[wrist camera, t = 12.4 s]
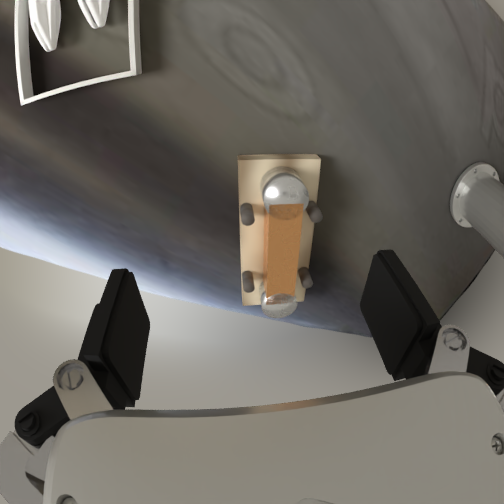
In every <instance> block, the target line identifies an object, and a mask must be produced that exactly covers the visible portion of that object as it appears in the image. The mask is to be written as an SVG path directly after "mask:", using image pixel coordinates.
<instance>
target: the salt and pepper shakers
mask: <svg viewBox="0 0 504 504" xmlns="http://www.w3.org/2000/svg"><path fill="white" fill-rule="evenodd" d="M109 2H110V0H78V3H79V5H80V8H81V10H82V12H83V14H84V16H85V17H86V19H87V21H88V22H89V24H90V25H91V27H93V28H95V29H96V28H98V27H103V26H104V25H105V23H106V18H107V13H108V8H109ZM28 3H29V13H30V20H31V26H32V29H33V31H34V33H35V35H36V37H37V39H38V40H39V42H40V44H41V45H42V47H43V48H44V50H45V51H47V52H50V51H52V50H55V49H56V47H57V41H58V35H59V29H60V22H61V6H60V0H28Z"/></svg>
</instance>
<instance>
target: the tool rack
mask: <svg viewBox="0 0 504 504" xmlns="http://www.w3.org/2000/svg"><path fill="white" fill-rule="evenodd" d="M320 164H321V159H320V158H319V157H318V155H317V154H259V155H238V182H239V218H240V250H241V280H242V301H243V306H246V305H260V304H261V299H260V293H259V286H260V284H261V282H262V281H263V260H264V202H263V199H262V195H261V191H260V182H261V179H262V177H263V176H264V174H265V173H266V172H267V171H269V170H270V169H272V168H275V167H280V166H284V167H289V168H291V169H293V170H294V171H296V172H297V174H298V175H299V177H300V178H301V180H302V182H303V183H304V185H305V187H306V188H307V190H308V193H309V203H308V206H307V208H306V209H305V211H304V212H303V217H302V228H301V239H300V249H299V258H298V268H297V277H296V286H295V296H296V300H297V302H298V301H304V295H305V289H306V288H310V287H311V286H312V285H313V282H312V279H311V276H310V273H309V271H308V268H309V261H310V253H311V246H312V238H313V230H314V223H318V222H320V221H321V220H322V218H323V215H322V213H321V211H320V210H319V208H318V206H317V194H318V185H319V174H320Z"/></svg>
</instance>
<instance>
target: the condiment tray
mask: <svg viewBox="0 0 504 504" xmlns="http://www.w3.org/2000/svg"><path fill="white" fill-rule="evenodd" d="M28 10H29V3H28V0H15V53H16V67H17V78H18V87H19V95H20V102H21V105H24V104H27V103H30V102H32V101H35V100H38V99H41V98H44V97H47V96H51V95H54V94H57V93H61V92H64V91H67V90H71V89H75V88H78V87H82V86H86V85H90V84H94V83H99V82H103V81H108V80H113V79H117V78H123V77H128V76H134V75H139V74H142V67H141V50H140V24H139V0H128V24H129V49H130V66H131V71H127V72H122V73H117V74H112V75H108V76H103V77H99V78H95V79H90V80H86V81H83V82H79V83H75V84H71V85H68V86H65V87H61V88H58V89H55V90H51V91H48V92H45V93H42V94H39V95H36V96H34V95H33V87H32V78H31V68H30V55H29V31H28Z"/></svg>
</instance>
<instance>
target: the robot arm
mask: <svg viewBox="0 0 504 504" xmlns="http://www.w3.org/2000/svg"><path fill="white" fill-rule="evenodd" d="M450 211H451V215H452V217H453V219H454V220H455V221H456V222H457V223H458V224H459V225H461V226H463V227H472V226H473V227H474V228H475V229H476V230H477V231H478V232H479V233H480V234H481V235H482V236H483V237H484V238H485V239H486V240H487V241H488V242H489V243H490V244H491V245H492V246H493V248H494V249H495V250H496V251H497V252H498V253H499V254H500V255H501V256H502V257H503V258H504V185H503V184H502V183H501V182H499V176H498V174H497V171H496V170H495V169H494V168H493V167H492V166H491V165H489V164H487V163H484V162H478V163H475V164H473V165H471V166H469V167H468V168H467V169H466V170H465V171H464V172H463V173H462V174H461V175H460V177H459V178H458V180H457V182H456V184H455V186H454V188H453V191H452V194H451V199H450ZM360 308H361V311H362V314H363V316H364V318H365V320H366V322H367V325H368V327H369V329H370V332H371V334H372V336H373V339H374V341H375V343H376V345H377V348H378V350H379V353H380V355H381V357H382V360H383V362H384V365H385V367H386V370H387V372H388V373H389V374H390V375H391V374H392V377H393V379H394V381H396V380H400V379H403V378H406V380H403V381H399V382H394V383H391V384H386V385H382V386H378V387H373V388H369V389H364V390H360V391H355V392H351V393H345V394H340V395H334V396H328V397H323V398H316V399H310V400H303V401H296V402H289V403H281V404H272V405H263V406H252V407H239V408H224V409H202V410H125V407H135V400H139V398H140V391H141V383H142V375H143V368H144V361H145V355H146V348H147V342H148V336H149V330H150V321H149V317H148V315H147V312H146V309H145V306H144V304H143V301H142V298H141V295H140V292H139V289H138V286H137V283H136V280H135V277H134V274H133V273H132V272H129V271H128V269H113V270H112V272H111V274H110V277H109V279H108V282H107V284H106V287H105V290H104V293H103V295H102V298H101V301H100V304H97V305H96V306H95V308H94V310H93V313H92V316H91V319H90V322H89V325H88V328H87V331H86V334H85V337H84V340H83V344H82V347H81V350H80V353H79V357H78V360H75V359H74V360H68V361H66V362H63V363H62V364H61V365H60V366H59V367H58V368H57V369H56V371H55V373H54V376H53V383H54V386H53V387H51V388H50V389H48V390H47V391H46V392H44V393H43V394H42V395H40V396H39V397H38V398H36V399H35V400H33V401H32V402H31V403H29V404H28V405H26V406H25V407H24V408H22V409H21V410H20V411H19V412H18V414H17V416H16V419H15V431H14V432H11V431H10V433H9V434H8V435H7V437H6V438H5V439H4V440H3V442H2V443H1V444H0V494H1V495H2V496H3V497H4V498H5V500H6V501H7V502H8V503H9V504H504V364H503V363H502V362H500V361H499V360H497V359H495V358H493V357H491V356H488V355H486V354H484V353H482V352H480V351H478V350H476V349H474V348H472V347H470V340H469V337H468V335H467V334H466V332H465V331H463V330H462V329H461V328H459V327H458V326H454V325H446V326H443V327H442V326H441V325H440V321H439V319H438V318H437V316H436V314H435V313H434V311H433V310H432V308H431V306H430V305H429V303H428V302H427V300H426V298H425V297H424V295H423V294H422V292H421V291H420V289H419V288H418V286H417V284H416V283H415V281H414V280H413V278H412V277H411V275H410V274H409V272H408V271H407V270H406V268H405V267H404V265H403V264H402V262H401V261H400V259H399V258H398V257H397V255H396V254H395V252H394V251H393V250H380V251H378V252H377V254H375V255H374V256H373V259H372V263H371V267H370V271H369V274H368V278H367V281H366V285H365V288H364V292H363V295H362V299H361V302H360Z"/></svg>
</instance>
